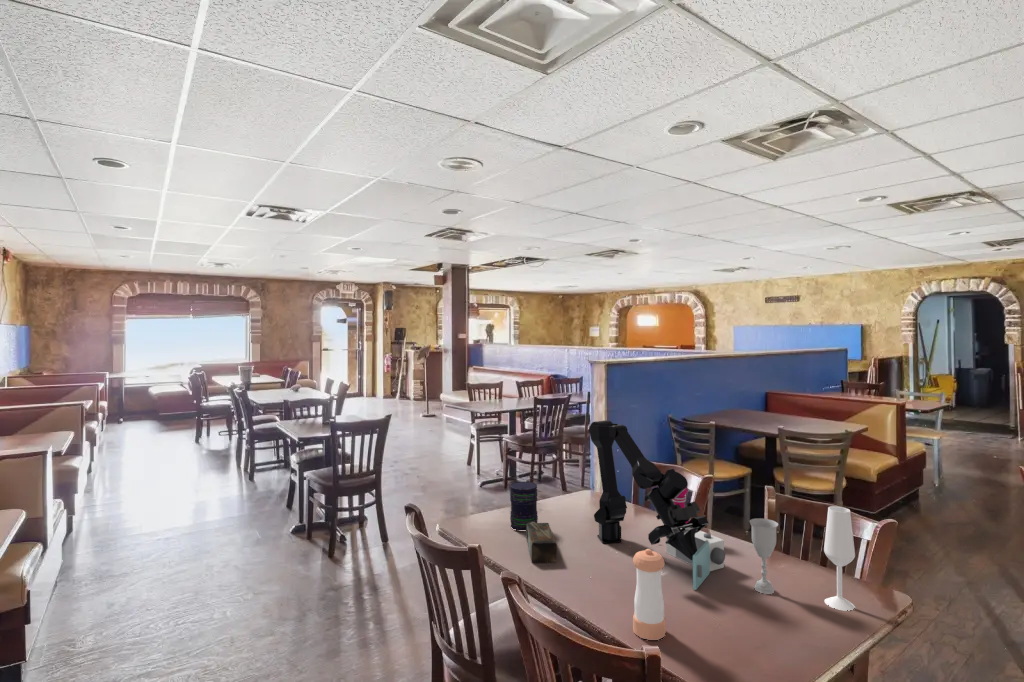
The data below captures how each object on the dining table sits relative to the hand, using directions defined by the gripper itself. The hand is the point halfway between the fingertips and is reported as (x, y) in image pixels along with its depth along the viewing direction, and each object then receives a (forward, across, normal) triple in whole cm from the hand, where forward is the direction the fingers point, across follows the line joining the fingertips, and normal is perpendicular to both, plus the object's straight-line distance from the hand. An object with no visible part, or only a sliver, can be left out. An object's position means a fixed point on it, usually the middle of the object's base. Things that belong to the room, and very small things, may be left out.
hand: (695, 558), depth 147 cm
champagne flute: (+23, +23, -14) cm, 35 cm away
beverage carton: (-23, -24, +34) cm, 48 cm away
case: (-3, +12, +13) cm, 18 cm away
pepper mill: (-14, +22, +25) cm, 36 cm away
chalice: (+13, +13, -3) cm, 19 cm away
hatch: (+5, +3, +4) cm, 7 cm away
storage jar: (-38, -18, +49) cm, 65 cm away
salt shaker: (+13, -28, -3) cm, 31 cm away
